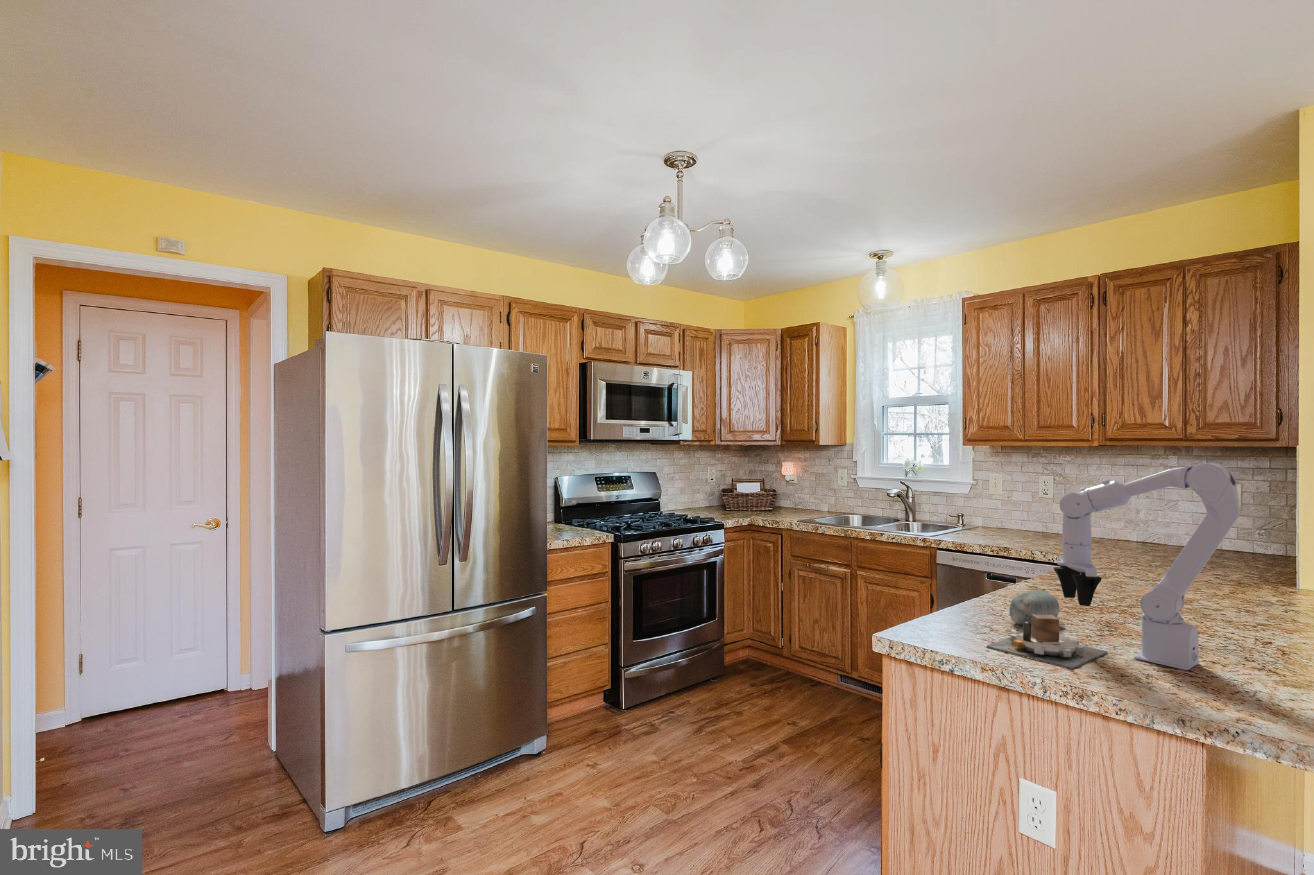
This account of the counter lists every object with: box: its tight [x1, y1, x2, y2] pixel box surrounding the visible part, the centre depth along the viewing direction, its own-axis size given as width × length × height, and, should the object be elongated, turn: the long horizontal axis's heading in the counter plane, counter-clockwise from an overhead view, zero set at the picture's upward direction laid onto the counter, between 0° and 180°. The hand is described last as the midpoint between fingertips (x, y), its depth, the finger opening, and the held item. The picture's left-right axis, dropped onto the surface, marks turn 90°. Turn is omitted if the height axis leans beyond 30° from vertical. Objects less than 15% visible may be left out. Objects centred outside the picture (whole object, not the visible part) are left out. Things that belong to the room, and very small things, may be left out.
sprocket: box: [1010, 622, 1085, 657], centre depth 150 cm, size 14×14×6 cm
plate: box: [986, 636, 1109, 670], centre depth 150 cm, size 18×18×1 cm
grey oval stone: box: [1009, 590, 1060, 627], centre depth 172 cm, size 14×10×10 cm
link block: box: [1031, 614, 1060, 642], centre depth 150 cm, size 4×4×5 cm
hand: (1076, 601), depth 155 cm, fingers open, 7 cm apart
